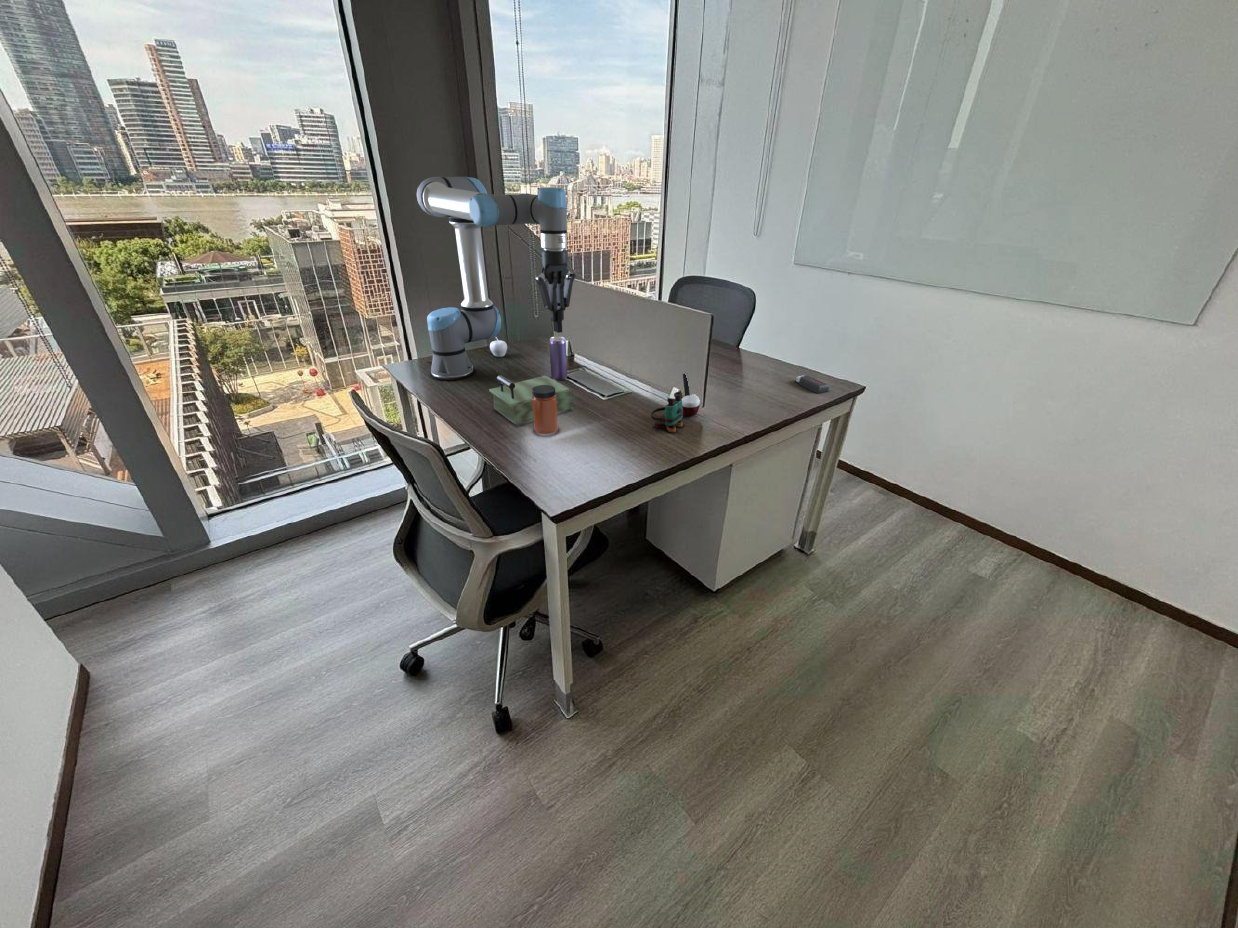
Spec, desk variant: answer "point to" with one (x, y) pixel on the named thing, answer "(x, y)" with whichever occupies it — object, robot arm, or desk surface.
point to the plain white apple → (498, 348)
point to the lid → (523, 389)
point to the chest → (527, 408)
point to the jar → (544, 409)
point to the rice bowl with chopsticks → (689, 401)
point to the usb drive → (812, 384)
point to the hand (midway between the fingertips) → (557, 331)
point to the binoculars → (670, 414)
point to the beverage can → (558, 358)
